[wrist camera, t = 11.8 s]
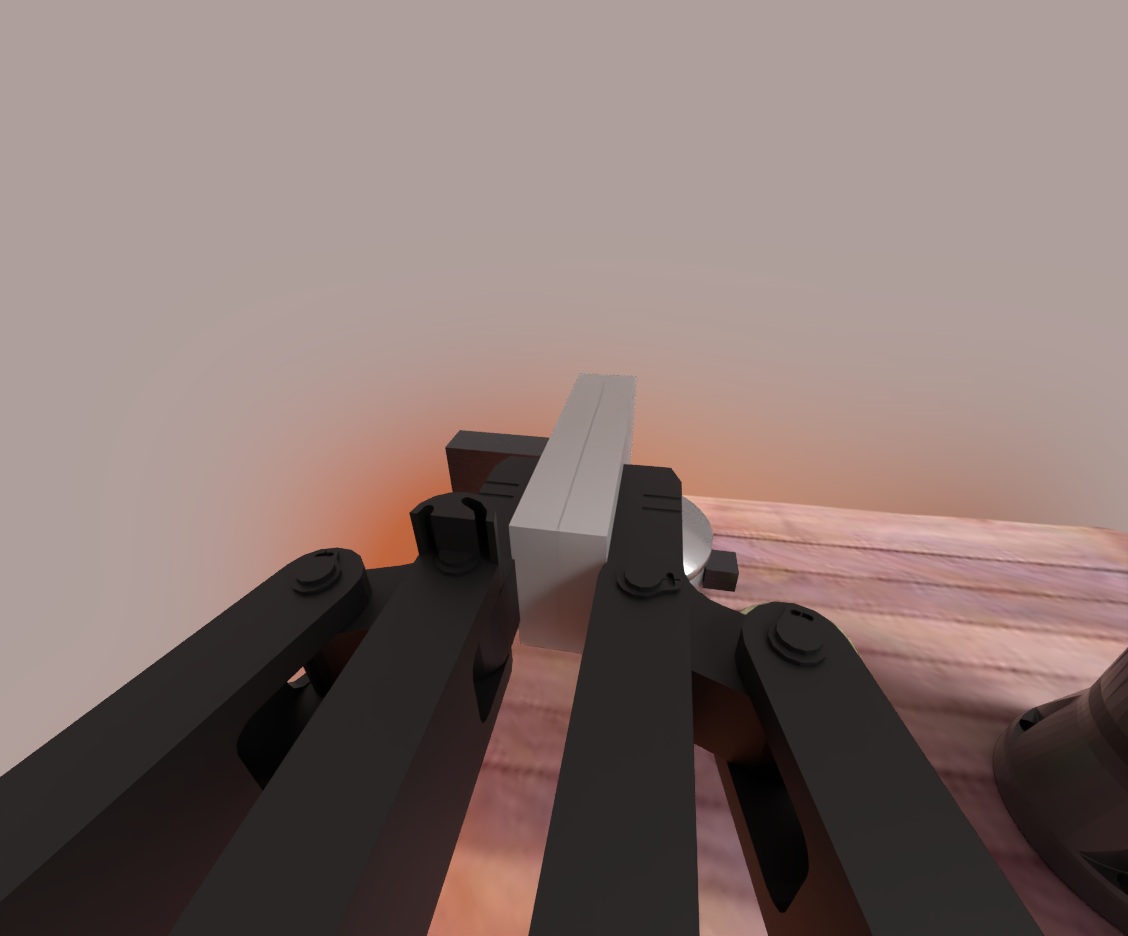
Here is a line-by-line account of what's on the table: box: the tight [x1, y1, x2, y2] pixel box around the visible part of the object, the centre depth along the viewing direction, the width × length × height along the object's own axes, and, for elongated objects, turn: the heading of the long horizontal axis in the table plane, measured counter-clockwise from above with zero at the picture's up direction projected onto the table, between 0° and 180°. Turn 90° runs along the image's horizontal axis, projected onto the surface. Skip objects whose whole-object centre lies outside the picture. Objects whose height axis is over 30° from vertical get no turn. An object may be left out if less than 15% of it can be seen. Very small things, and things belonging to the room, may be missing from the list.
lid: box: [445, 430, 713, 581], centre depth 46 cm, size 25×16×9 cm, turn 78°
